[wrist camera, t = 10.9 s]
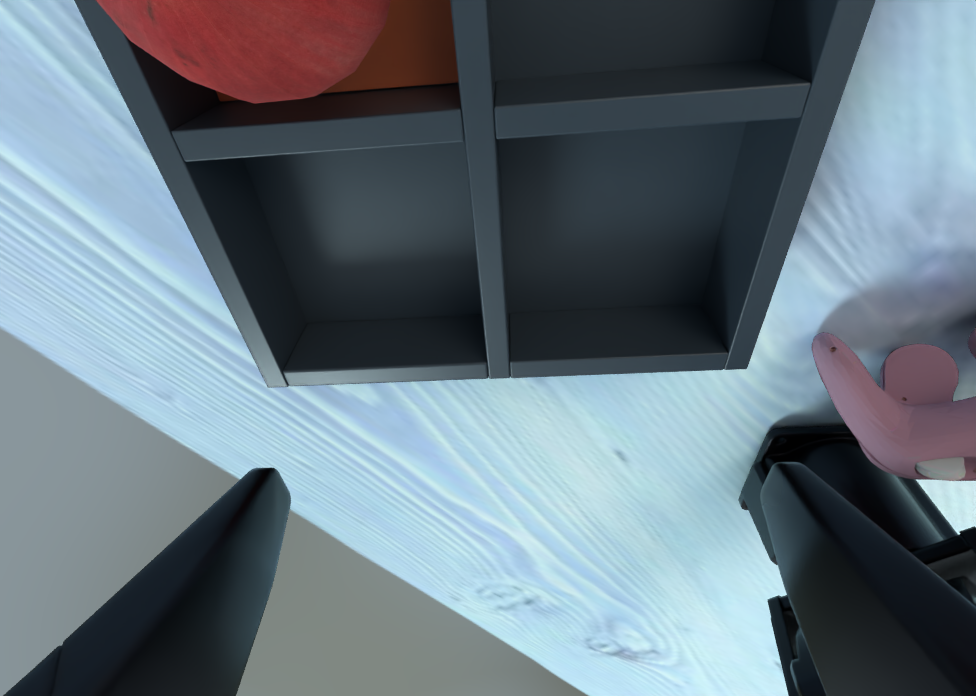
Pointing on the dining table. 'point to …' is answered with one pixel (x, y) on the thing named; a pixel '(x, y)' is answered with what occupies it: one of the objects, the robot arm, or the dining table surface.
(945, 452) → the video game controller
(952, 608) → the robot arm
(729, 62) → the grid
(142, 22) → the onion
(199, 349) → the dining table surface
